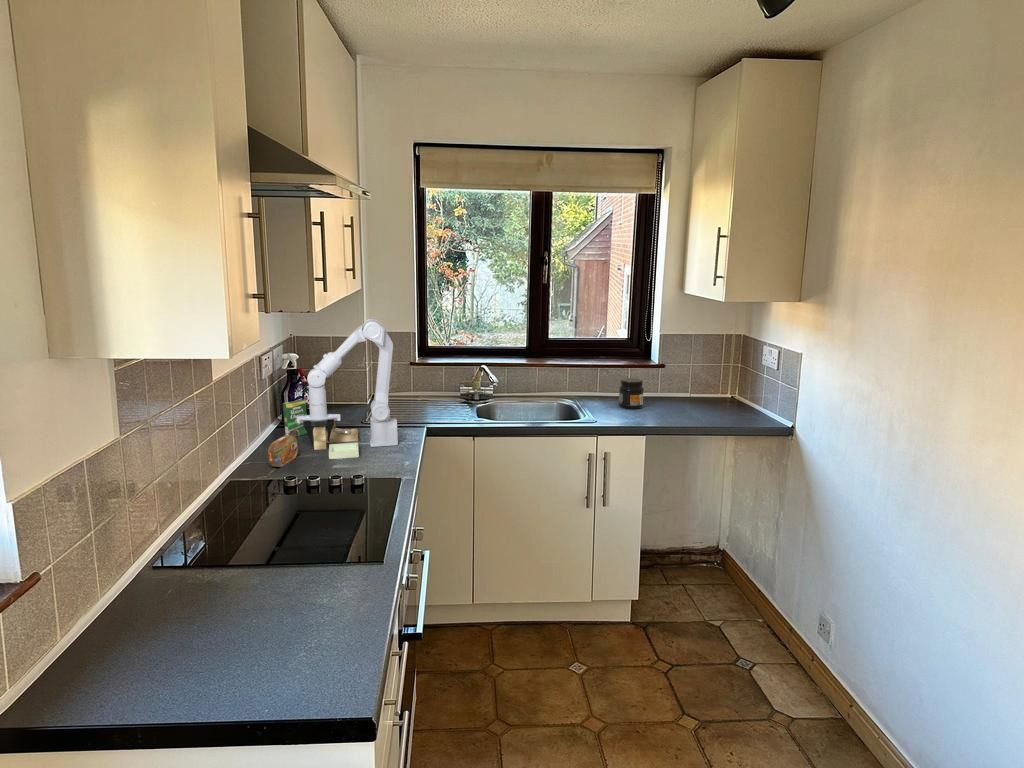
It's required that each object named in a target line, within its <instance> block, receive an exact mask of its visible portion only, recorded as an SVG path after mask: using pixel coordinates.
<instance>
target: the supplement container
mask: <svg viewBox="0 0 1024 768" xmlns="http://www.w3.org/2000/svg"><path fill="white" fill-rule="evenodd" d="M618 389H619V390H618V391H619V393H618V406H619V407H620V408H621V409H625V410H639V409H642V408H643V406H644V390H645V388H644V380H643V379H641V378H636V377H625V378H623V377H622V378H621V379H620V385H619V388H618Z"/></svg>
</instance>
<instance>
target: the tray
mask: <svg viewBox="0 0 1024 768" xmlns="http://www.w3.org/2000/svg"><path fill="white" fill-rule="evenodd" d="M328 444H329V445H328V446H329V448H328V459H329V460H334V459H335V460H336V459H339V460H340V459H351V458H352V459H353V458H359V457H360V454H359V453H360V452H359V450H360V449H359V442H342V443H328Z"/></svg>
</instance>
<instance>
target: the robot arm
mask: <svg viewBox="0 0 1024 768" xmlns="http://www.w3.org/2000/svg"><path fill="white" fill-rule="evenodd" d="M367 340H369V341H371V342H373V343H374V344H375V346H377V347H378V350H379V351H378V361H377V369H376V370H377V371H376V379H375V380H376V382H375V389H374V390H375V392H374V397H373V400H372V402H371V403H370V410H371V417H370V418H369V419H370V421H369V422H370V439H369V446H370V447H371V448H373V447H374V448H377V447H378V448H379V447H388V446H389V447H391V446H398V445H399V433H398V420H397V418H392V416H391V410H390V407H389V393H390V383H391V371H392V361H393V351H394V343H393V341H392V339H391V336H390V335H389V334H388V332H387V330H386V328H385V327H384V325H383V324H382V323H381V322H379V320H377V319H375V318H369V319H366V320H364V322H363V324H360V325H359V326H358V327H357V328H356V329H355V330H353V331H352V332H351V333H350V335H348V337H347V338H346V339H345V340H344V341H343V342H342V343H341V344H340V346H339V347H338V348H337V349H336V350H335V351H332V352H331V351H329V352H328V353H324V355H322V359H320V361H319V362H318V363H317V364H314V365H313V368H312V369H311V370H310V371H309V372H308V374H307V377H306V378H307V379H306V380H307V384H308V403H309V405H308V406H309V414H307V415H306V416H297V423H301V422H303V426H304V428H305V429H306V431H307V433H308V434H307V435H308V438H309V441H310V442H309V443H310V444H311V443H313V444H314V436H313V429H312V422H313V423H314V422H316V423H317V422H318V423H319V422H326V431H327V432H328V435H327V441H328V442H330V434H331V431H332V428H333V426H334V421H335V422H336V421H337V422H341V414H340V413H328V408H327V390H326V387H325V384H326V379H327V378H329V377H330V376H332V375H333V373H334V372H335V371H336V370H337V369H338V368H339V367H340V366H341V365H342V363H343V362H342V359H343V358H344V357H345V356H346V355H347V354H348V353H349V352H350V351H351V350H352V349H353V348H354V347H355V346H356V345H357V344H358V343H363V342H366V341H367Z"/></svg>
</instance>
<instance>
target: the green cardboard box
mask: <svg viewBox="0 0 1024 768" xmlns="http://www.w3.org/2000/svg"><path fill="white" fill-rule="evenodd" d="M306 402H307V401H306V400H305V399H302V398H301V399H298V400H293V401H287V402H283V403H282V411H283V421H284V422H283V423H284V431H285V432H284V433H285V434H284V436H285V435H294V436H295V437H296V438H297V437H302V436H306V435H308V433H307V431H306V429H305V428H304V426H303V422H301V423H297V416H306V415H308V413H307V405H306V404H307V403H306Z"/></svg>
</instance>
